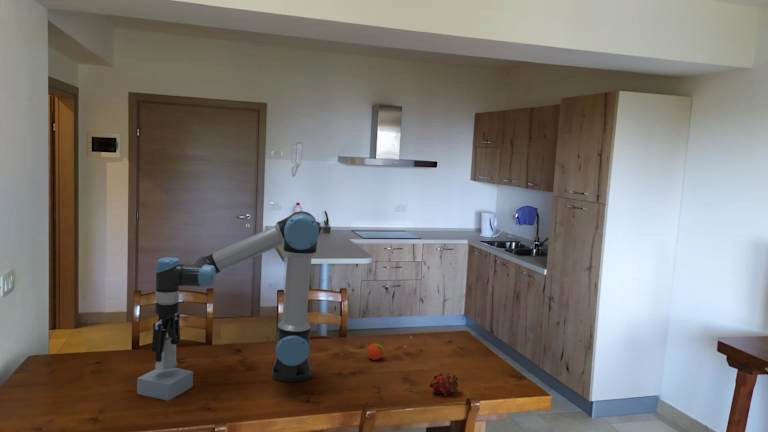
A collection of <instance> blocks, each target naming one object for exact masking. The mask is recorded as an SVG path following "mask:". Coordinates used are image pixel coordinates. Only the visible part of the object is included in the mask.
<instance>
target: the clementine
mask: <svg viewBox="0 0 768 432" xmlns="http://www.w3.org/2000/svg"><path fill="white" fill-rule="evenodd" d="M384 351H385V350H384V348H383V346H381V345H380V344H379V343H371V344H370V345H368V346H367V349H366V354H367V357H368V358H369V359H371V360H373V361H376V360H379V359H380V358H382V356H383V354H384Z"/></svg>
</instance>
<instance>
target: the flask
mask: <svg viewBox="0 0 768 432" xmlns="http://www.w3.org/2000/svg"><path fill="white" fill-rule="evenodd" d="M171 340H172V338H169V337H167V336H166V339H165V343H164V348H163V352H164V369H171V368H177V365H178V362H177V358H176V359H175V356H174V354H173V351H172V348H171ZM154 368H155V369H156V364H155V365H154Z"/></svg>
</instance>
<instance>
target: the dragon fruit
mask: <svg viewBox="0 0 768 432" xmlns="http://www.w3.org/2000/svg"><path fill="white" fill-rule="evenodd" d="M458 383H459V379H458V378H457V377H456V375H455V374H450V373H449V372H447V371H446V373H444V372H440V373H438V374H437V375H434V376H433V378H432V381H431V383H430V384H429V388H430V389H431V388H432V393H434V394H438V395H440V394H444V396H448V395H449V394H452V393H454V392H455V391H457V390H458V387H459V384H458Z"/></svg>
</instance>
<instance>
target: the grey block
mask: <svg viewBox="0 0 768 432" xmlns="http://www.w3.org/2000/svg"><path fill="white" fill-rule="evenodd" d="M136 378H137V379H136V380H137V381H136V383H137V384H136V385H137V386H136V394H137V395H141V396H144V397H150V398H155V399H159V400H162V401H167V402H169V401H170V400H173V399H174V398H177V396H179V395H182V394H183V393H184V392H186V391H188V390H190V389H191V388H193V387H194V384H193V383H194V371H193V370H187V369H183V368H179V367H174V368H171V369H164V370H163V371H161V370H156V368H155V369H153V370H150V371H149V372H147V373H145V374H143V375H140V376H139V377H136Z"/></svg>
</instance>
